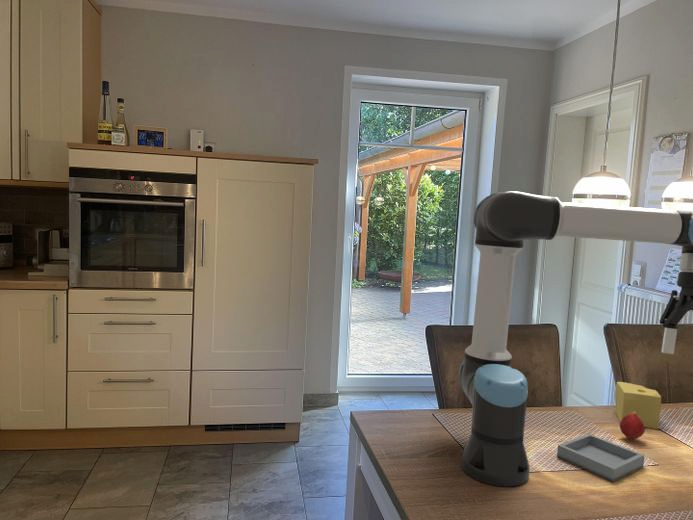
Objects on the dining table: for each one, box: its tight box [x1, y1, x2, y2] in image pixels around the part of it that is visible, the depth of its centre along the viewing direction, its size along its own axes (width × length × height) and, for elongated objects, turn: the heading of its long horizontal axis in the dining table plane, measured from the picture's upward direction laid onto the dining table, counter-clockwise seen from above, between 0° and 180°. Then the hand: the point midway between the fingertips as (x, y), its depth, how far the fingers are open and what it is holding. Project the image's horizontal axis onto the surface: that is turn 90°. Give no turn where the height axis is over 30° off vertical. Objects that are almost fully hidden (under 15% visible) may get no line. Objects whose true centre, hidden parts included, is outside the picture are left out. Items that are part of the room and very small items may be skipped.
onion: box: [619, 412, 646, 441], centre depth 138 cm, size 6×6×8 cm
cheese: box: [614, 381, 662, 430], centre depth 152 cm, size 10×11×10 cm
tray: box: [556, 433, 645, 483], centre depth 124 cm, size 14×14×3 cm
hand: (684, 358), depth 124 cm, fingers open, 13 cm apart
